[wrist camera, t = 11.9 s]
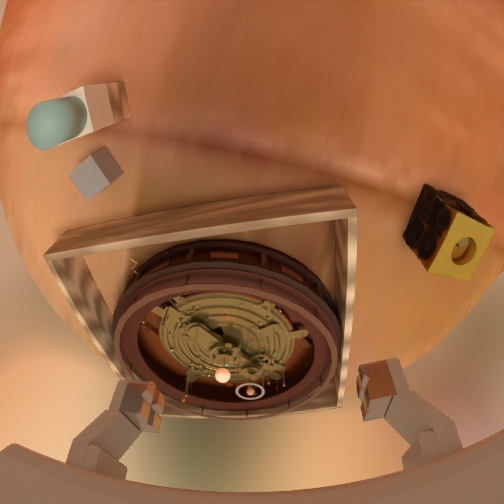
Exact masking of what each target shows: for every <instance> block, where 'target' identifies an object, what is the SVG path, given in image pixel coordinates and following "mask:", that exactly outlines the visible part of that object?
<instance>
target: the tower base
mask: <svg viewBox="0 0 504 504" xmlns="http://www.w3.org/2000/svg"><path fill="white" fill-rule="evenodd" d="M106 87H107V91H108V96H109V101H110V105H111V109H112V114H113V118H114V122H115V123H117V122H120V121H122V120H125V119H128V118H131V113H130V109H129V104H128V100H127V95H126V91H125V86H124V82H113V83H106Z"/></svg>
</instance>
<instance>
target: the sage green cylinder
mask: <svg viewBox="0 0 504 504" xmlns="http://www.w3.org/2000/svg"><path fill="white" fill-rule="evenodd" d="M86 123H87V109H86V106H85V104H84V103H83V101H82V100H81V99H80V98H78V97H76V96H66V97H61V98H57V99H52V100H48V101H44V102H40V103H38V104H36V105H35V106H34V107H33V108H32V110H31V111H30V113H29V115H28V119H27V134H28V137H29V140H30V141H31V143H32V144H33V145H34V146H35V147H36V148H38V149H40V150H48V149H50V148H53V147H55V146H57V145H59V144H61V143H63V142H65V141H68V140H70V139H72V138H74V137H77V136H78V135H79V134H81V132H82V131H83V130H84V128H85V126H86Z"/></svg>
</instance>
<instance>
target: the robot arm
mask: <svg viewBox="0 0 504 504" xmlns="http://www.w3.org/2000/svg"><path fill="white" fill-rule="evenodd" d="M358 371H359V375H358V376H357V393H358V398H359V399H360V400H361V401H362V404H361V411H362V416H363V421H369V420H375V419H380V418H384V419H385V420H386V421H387V422H388V423H389V424H390V425H391V426H392V427H393V428H394V429H395V430H396V431H397V432H398V433H399V434H400V435H401V436H402V437H403V438H404V439H405V440H406V441H407V442H408V443H409V444H410V445H411V446H410V447H409V449H408V450H407V451H406V452H405V454H404V455H403V456H402V463H403V468H404V470H402V471H399V472H395V473H391V474H387V475H384V476H379V477H375V478H371V479H366V480H362V481H357V482H351V483H346V484H340V485H334V486H328V487H320V488H313V489H304V490H293V491H278V492H252V493H251V492H249V493H248V492H241V493H240V492H213V491H198V490H187V489H178V488H170V487H162V486H156V485H149V484H144V483H139V482H133V481H128V480H125V478H126V473H127V467H126V466H124V465H123V464H122V463H120V462H119V461H118V460H119V459H120V458H121V457H122V456H123V454H124V453H125V452H126V451H127V449H128V448H129V447H130V446H131V445H132V444H133V442H134V441H135V440H136V439H137V438H138V436H139V435H140V434H141V432H152V433H153V432H154V433H159V429H160V424H161V418H160V416H159V415H160V414H161V413H162V412H163V410H164V397H163V394H162V393H161V391H159V390H157V389H156V384H155V383H154V382H153V381H140V380H124V379H120V381H119V382H118V383H117V386H116V389H115V392H114V395H113V398H112V401H111V404H110V407H109V410H105V411H104V412H103V413H102V414H101V415H100V416H98V417H97V418H96V419H95V420H94V421H93V422H92V423H91V424H90V425H89V426H87V427H86V428H85V429H84V430H83V431H82V432H81V433H80V434H79V435H78V436H77V437H75V438H74V439H73V441H72V444H71V448H70V451H69V454H68V457H67V460H66V463H64V462H61V461H58V460H55V459H53V458H50V457H47V456H45V455H42V454H40V453H37V452H34V451H32V450H30V449H28V448H25V447H23V446H21V445H19V444H11V445H9V446H7V447H6V448H5V449H3V450H2V451H1V452H0V504H504V429H503V430H501V431H499V432H497V433H496V434H494V435H492V436H490V437H488V438H486V439H483V440H482V441H479V442H477V443H475V444H473V445H471V446H468V447H466V448H464V449H463V447H462V444H461V441H460V438H459V435H458V432H457V429H456V426H455V423H454V421H453V420H452V419H450V418H449V417H448V416H446V415H445V414H444V413H442V412H441V411H440V410H438V409H437V408H436V407H435V406H433V405H432V404H431V403H429V402H428V401H426V400H425V399H424V398H423V397H421V396H420V395H419V394H417V393H416V392H415V391H410V389H409V386H408V383H407V381H406V378H405V375H404V372H403V369H402V367H401V364H400V361H399V359H398V358H396V357H395V358H391V359H387V360H381V361H376V362H372V363H367V364H362V365H360V366H359V370H358Z"/></svg>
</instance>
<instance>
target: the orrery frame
mask: <svg viewBox="0 0 504 504" xmlns="http://www.w3.org/2000/svg"><path fill="white" fill-rule="evenodd" d="M329 220H335V243H336V304H335V309H336V312H337V320H338V322H339V325H340V328H341V331H342V343H341V356H340V360H339V363H338V364H337V367H336V370H335V373H334V376H333V378H332V379H331V381H330V382H329V384H328V385H327V387H326V388H325V389H324V390H323V391H322V392H321V393H320V394H319V395H318V396H317V397H315V398H314V399H312V400H311V401H309V402H308V403H306V404H305V405H303V406H300V407H298V408H296V409H294V410H292V411H289V412H286V413H283V414H280V415H289V414H299V413H308V412H316V411H323V410H330V409H336V408H341V407H342V402H343V396H344V389H345V383H346V375H347V368H348V360H349V351H350V342H351V332H352V321H353V309H354V295H355V278H356V253H357V208H356V206H355V205H354V203H353V202H352V200H351V199H350V197H349V196H348V195H347V193H346V192H345V190H344V189H343V188H342V186H334V187H325V188H316V189H307V190H299V191H290V192H282V193H275V194H267V195H260V196H253V197H246V198H239V199H232V200H226V201H219V202H213V203H207V204H200V205H194V206H189V207H183V208H177V209H171V210H166V211H160V212H155V213H150V214H144V215H139V216H134V217H129V218H124V219H119V220H114V221H109V222H105V223H100V224H95V225H91V226H86V227H82V228H77V229H73V230H69V231H66V232H65V233H64V234H63V235H62V236H61V237H60V238H59V239H58V240H57V241H56V242H55V243H54V244H53V245H52V246H51V247H50V248H49V249H48V251H47V252H46V253H45V254H44V255H43V256H44V258H45V260H46V262H47V264H48V266H49V268H50V270H51V272H52V274H53V276H54V278H55V279H56V281H57V283H58V285H59V287H60V289H61V290H62V292H63V294H64V296H65V297H66V299H67V301H68V303H69V304H70V306H71V308H72V309H73V311H74V313H75V314H76V316H77V317H78V319H79V321H80V322H81V324H82V325H83V327H84V329H85V330H86V332H87V333H88V335H89V336H90V338H91V339H92V341H93V342H94V344H95V345H96V347H97V348H98V349H99V351H100V352H101V354H102V355H103V356H104V358H105V359H106V361H107V362H108V363H109V365H110V366H111V367H112V369H113V370H114V371H115V373H116V374H117V375H118V377H119V378H120V379H124V380H131V378H130V377H129V376H128V375H127V374H126V372H125V371H124V370H123V368H122V366H121V364H120V362H119V361H118V359H117V355H116V351H115V348H114V337H113V333H112V321H113V315H112V313H111V311H110V310H109V308H108V306H107V304H106V302H105V300H104V298H103V297H102V295H101V293H100V291H99V289H98V287H97V285H96V283H95V281H94V279H93V277H92V275H91V273H90V271H89V269H88V267H87V265H86V263H85V261H84V258H83V256H82V255H88V254H94V253H100V252H106V251H113V250H119V249H125V248H132V247H138V246H145V245H151V244H158V243H165V242H171V241H178V240H185V239H192V238H199V237H206V236H213V235H220V234H227V233H235V232H242V231H250V230H257V229H265V228H272V227H280V226H288V225H296V224H304V223H312V222H320V221H329ZM123 361H124V360H123ZM125 364H126V363H125ZM126 366H127V364H126ZM127 368H128V370H129V369H130V368H129V367H128V366H127ZM130 373H131V374H132V375H133V376H134V377H135V379H136V380H140V381H142V380H141V379H140V378H139V377H138V376H137V375H136V374H134V373H133V372H132V371H130ZM320 387H321V386H320ZM320 387H318V388H317V389H315V390H314V391H313V392H311V393H310V394H308V395H306V396H304V397H302V398H300V399H298V400H296V401H294V402H292V403H290V408H291V407H293V406H295V405H297V404H299V403H301V402H303V401H304V400H306V399H307V398H309V397H310V396H311V395H313V394H314V393H315V392H316V391H317V390H318V389H319V388H320ZM163 397H164V401H166V402H168V403H171V404H173V405H175V406H177V407H180V408H183V409H186V410H188V411H191V412H195V413H200V414H201V413H202V408H199V407H195V406H191V405H188V404H185V403H182V402H180V401H177V400H174V399H172V398H170V397H168V396H166V395H164V394H163ZM286 409H289V406H288V404H286V405H283V406H280V407H276V408H269V409H261V410H253V411H248V416H247V417H258V416H263V415H269V414H273V413H277V412H280V411H283V410H286ZM202 414H204V415H209V416H216V417H225V418H247V417H246V411H215V410H208V409H203V413H202ZM159 416H160V417H178V418H206V417H201V416H197V415H193V414H189V413H186V412H183V411H181V410H178V409H175V408H173V407H170V406H168V405H166V404H164V410H163V412H162V413H161V414H160V415H159ZM277 416H279V415H277Z"/></svg>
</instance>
